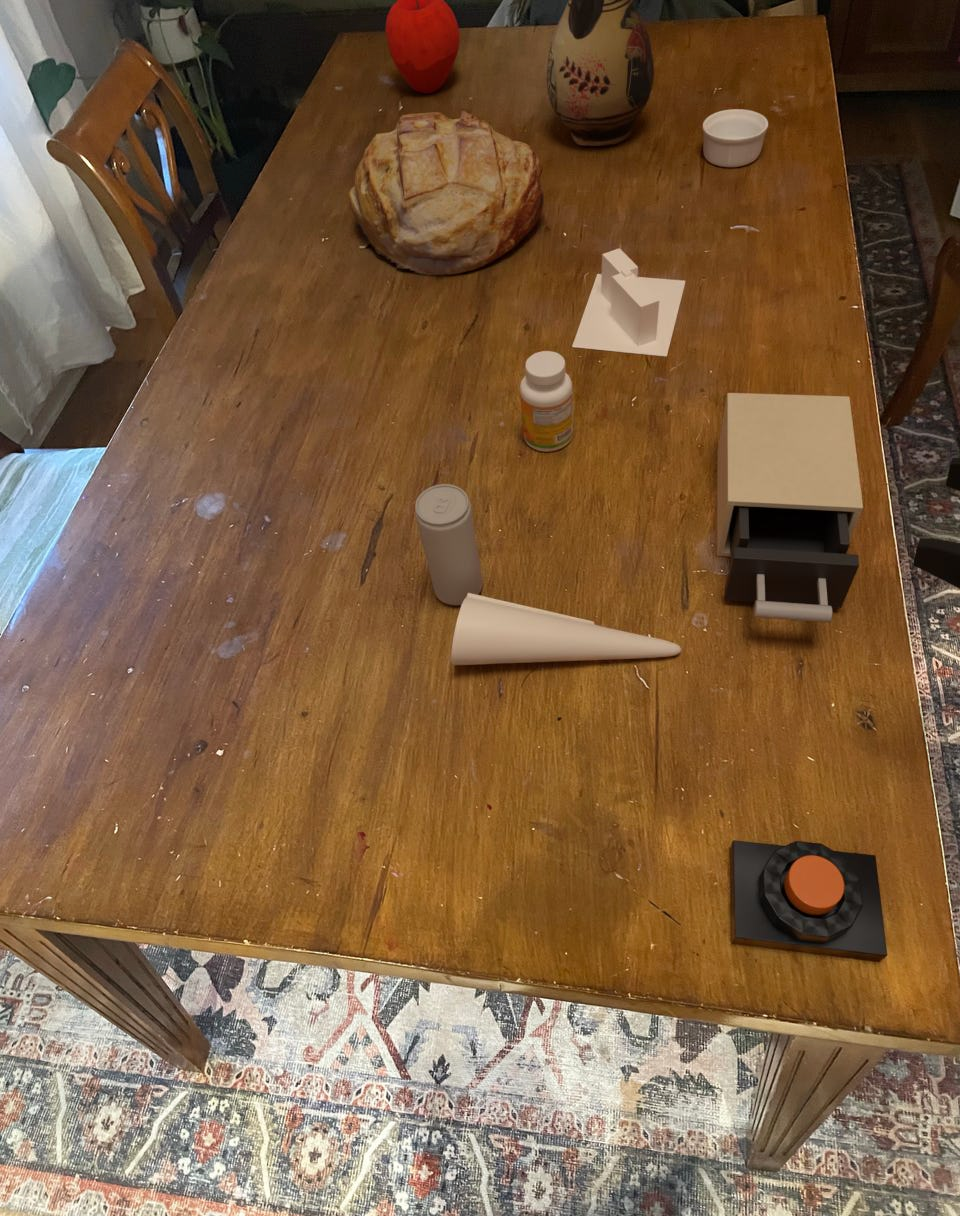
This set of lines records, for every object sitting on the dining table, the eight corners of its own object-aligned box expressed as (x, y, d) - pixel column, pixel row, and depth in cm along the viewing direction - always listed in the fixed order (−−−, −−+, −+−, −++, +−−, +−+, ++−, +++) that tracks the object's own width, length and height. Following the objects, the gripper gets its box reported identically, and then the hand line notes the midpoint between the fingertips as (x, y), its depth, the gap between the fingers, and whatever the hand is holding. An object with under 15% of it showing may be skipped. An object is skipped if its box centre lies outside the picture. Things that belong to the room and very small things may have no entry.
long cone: (669, 721, 73) (450, 678, 75) (674, 663, 77) (466, 623, 79) (683, 683, 68) (450, 638, 71) (688, 623, 72) (467, 582, 75)
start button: (835, 866, 60) (842, 858, 58) (840, 918, 58) (846, 911, 56) (782, 860, 60) (787, 852, 59) (785, 912, 58) (790, 904, 57)
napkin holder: (668, 356, 98) (672, 314, 93) (571, 347, 100) (571, 305, 96) (685, 280, 106) (690, 237, 101) (595, 273, 109) (596, 231, 104)
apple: (477, 77, 145) (468, -15, 134) (440, 108, 139) (427, 15, 128) (419, 68, 149) (406, -22, 138) (381, 98, 144) (365, 7, 133)
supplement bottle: (526, 418, 94) (521, 345, 86) (574, 419, 93) (574, 346, 85) (520, 452, 91) (515, 380, 83) (571, 454, 90) (570, 381, 82)
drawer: (845, 648, 72) (864, 606, 67) (724, 638, 74) (734, 597, 69) (830, 497, 82) (846, 451, 77) (724, 491, 84) (733, 446, 79)
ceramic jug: (592, 99, 136) (594, -143, 112) (670, 124, 129) (691, -128, 104) (520, 144, 130) (506, -102, 105) (598, 173, 123) (602, -83, 98)
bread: (406, 177, 130) (380, 71, 118) (573, 187, 120) (562, 71, 108) (324, 270, 118) (286, 162, 106) (501, 290, 108) (480, 173, 96)
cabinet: (841, 563, 78) (863, 507, 72) (716, 556, 80) (727, 500, 74) (830, 455, 86) (849, 396, 80) (717, 450, 88) (727, 392, 82)
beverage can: (490, 574, 82) (478, 488, 72) (473, 613, 79) (458, 529, 70) (444, 564, 83) (425, 478, 73) (426, 602, 81) (404, 519, 71)
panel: (869, 862, 63) (882, 846, 60) (880, 962, 59) (895, 949, 56) (729, 847, 64) (736, 830, 61) (731, 943, 60) (738, 930, 58)
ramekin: (687, 160, 122) (690, 129, 119) (720, 133, 126) (724, 102, 122) (742, 176, 118) (747, 145, 115) (774, 148, 122) (780, 117, 118)
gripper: (1232, 428, 49) (973, 392, 56) (1196, 614, 43) (909, 549, 50) (1186, 512, 55) (954, 470, 61) (1147, 689, 48) (894, 620, 55)
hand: (932, 510), depth 56 cm, fingers open, 7 cm apart
